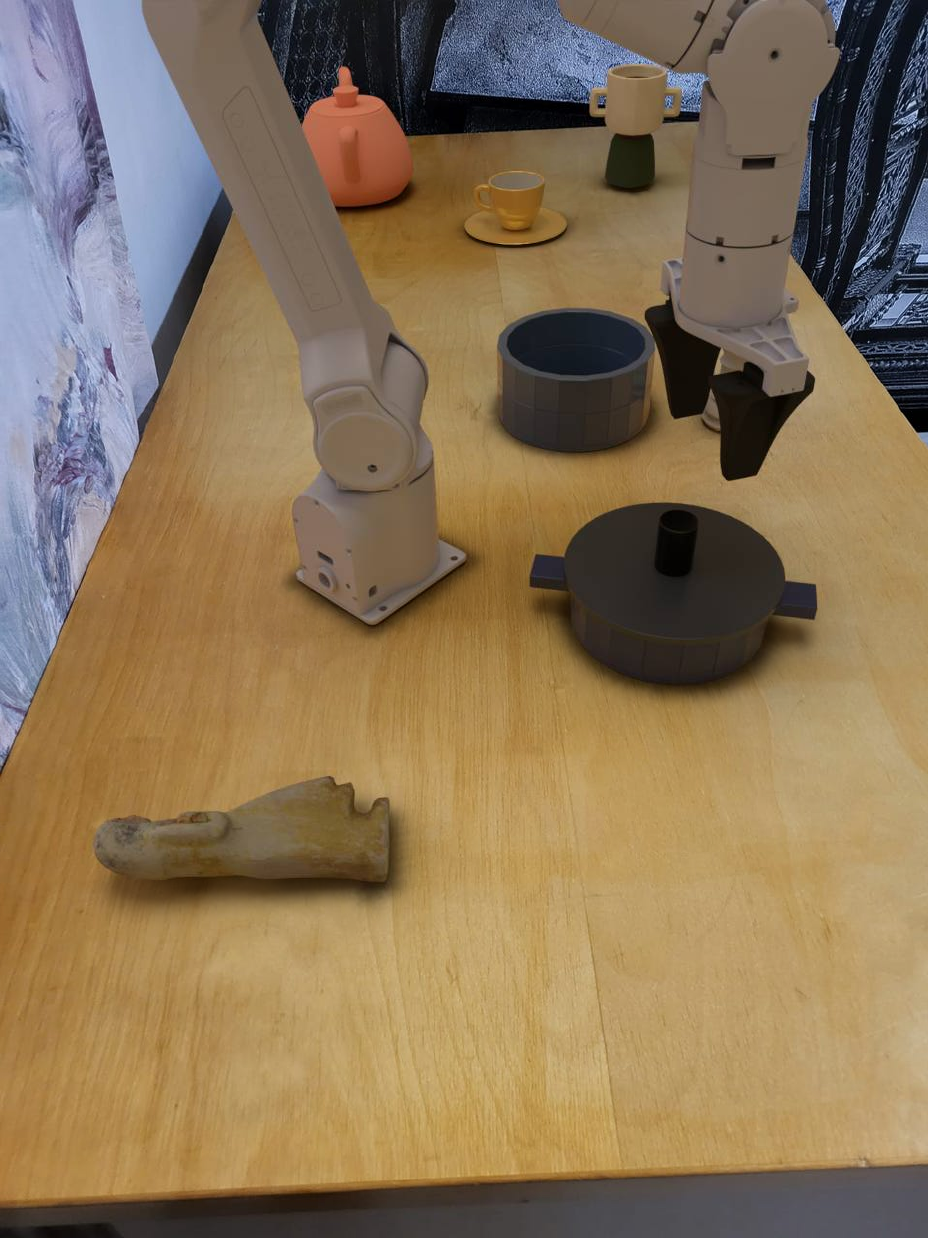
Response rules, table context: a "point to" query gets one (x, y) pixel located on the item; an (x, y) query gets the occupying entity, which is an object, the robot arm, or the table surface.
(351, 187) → the teapot
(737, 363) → the rook chess piece
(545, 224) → the cup
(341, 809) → the figurine
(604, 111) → the character mug
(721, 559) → the lid
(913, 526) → the table surface
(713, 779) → the table surface
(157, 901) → the table surface
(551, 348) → the pot
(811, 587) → the pan
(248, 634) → the table surface
